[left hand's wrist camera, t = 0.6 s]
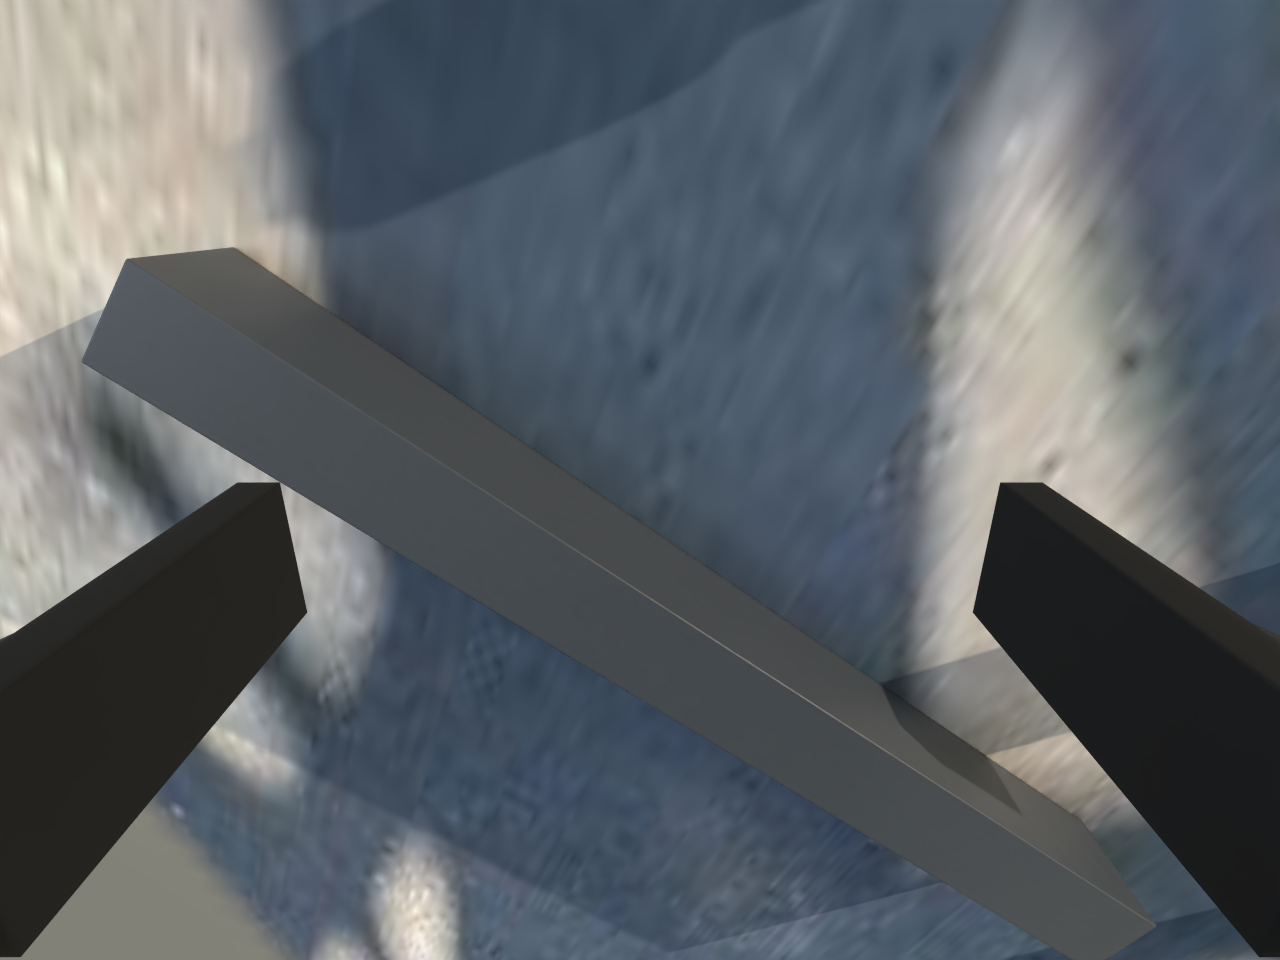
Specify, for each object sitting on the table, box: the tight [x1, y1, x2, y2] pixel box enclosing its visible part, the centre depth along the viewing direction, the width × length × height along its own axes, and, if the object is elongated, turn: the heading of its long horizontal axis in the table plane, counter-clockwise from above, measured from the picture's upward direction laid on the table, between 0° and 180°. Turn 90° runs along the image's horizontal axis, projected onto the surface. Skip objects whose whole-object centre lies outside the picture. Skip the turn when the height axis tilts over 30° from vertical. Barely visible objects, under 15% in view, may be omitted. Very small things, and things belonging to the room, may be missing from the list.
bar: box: [82, 247, 1156, 960], centre depth 38 cm, size 65×5×8 cm, turn 53°
